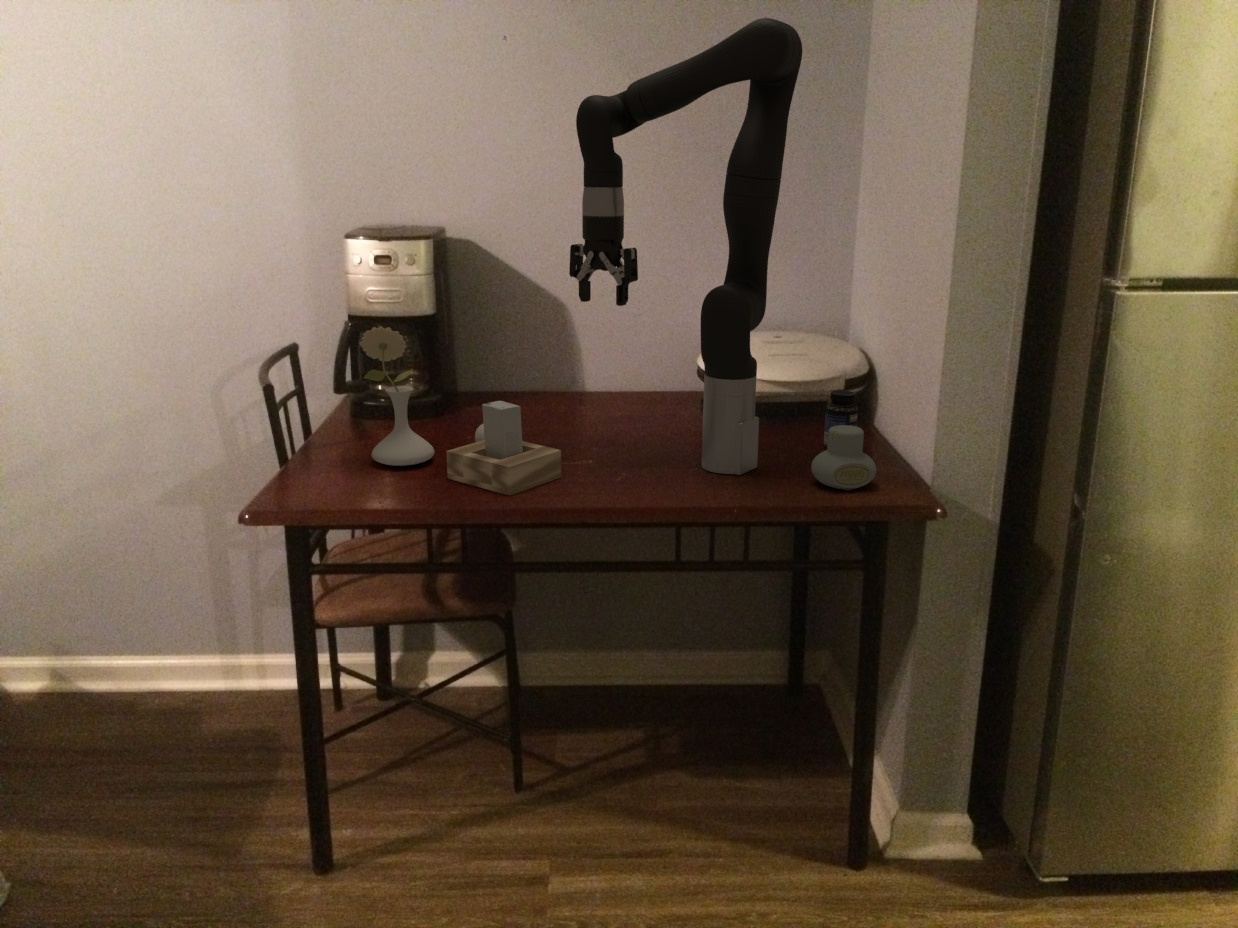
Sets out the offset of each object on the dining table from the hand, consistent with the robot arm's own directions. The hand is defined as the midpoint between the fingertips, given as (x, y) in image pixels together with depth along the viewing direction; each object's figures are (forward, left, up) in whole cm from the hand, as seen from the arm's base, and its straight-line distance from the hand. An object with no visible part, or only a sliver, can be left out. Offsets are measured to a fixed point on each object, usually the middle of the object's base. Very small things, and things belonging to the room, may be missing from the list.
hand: (603, 303), depth 188 cm
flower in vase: (+24, +30, -28) cm, 48 cm away
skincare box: (+2, +25, -27) cm, 37 cm away
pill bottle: (-35, -30, -28) cm, 54 cm away
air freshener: (-46, -9, -28) cm, 55 cm away
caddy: (+2, +25, -28) cm, 38 cm away
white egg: (+17, +15, -28) cm, 36 cm away
